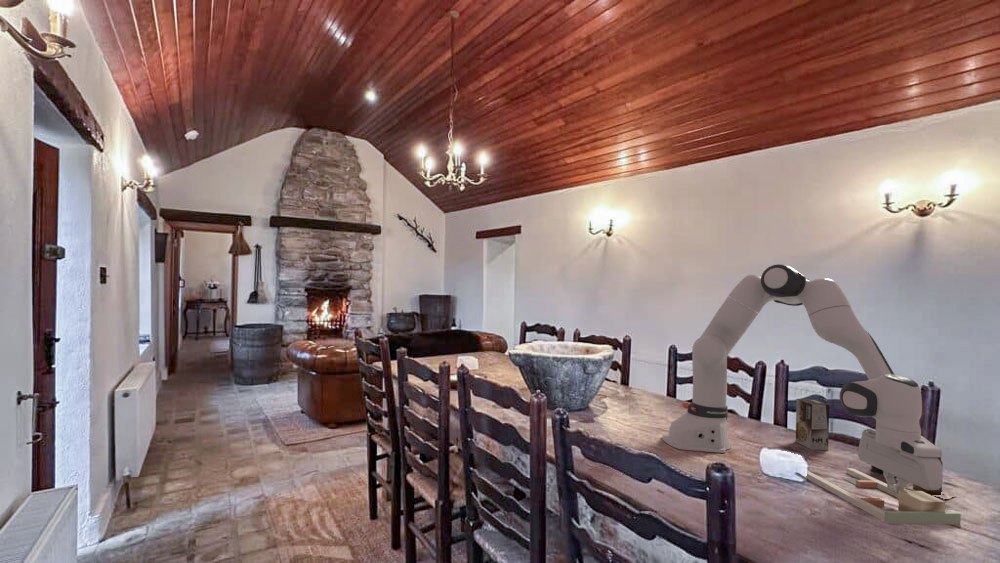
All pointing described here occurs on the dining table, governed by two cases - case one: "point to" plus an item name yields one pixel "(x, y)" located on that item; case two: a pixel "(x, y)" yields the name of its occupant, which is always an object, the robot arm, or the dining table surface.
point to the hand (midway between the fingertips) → (895, 492)
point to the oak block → (919, 502)
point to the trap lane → (873, 503)
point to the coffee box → (812, 424)
